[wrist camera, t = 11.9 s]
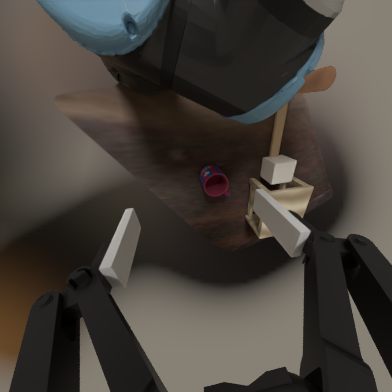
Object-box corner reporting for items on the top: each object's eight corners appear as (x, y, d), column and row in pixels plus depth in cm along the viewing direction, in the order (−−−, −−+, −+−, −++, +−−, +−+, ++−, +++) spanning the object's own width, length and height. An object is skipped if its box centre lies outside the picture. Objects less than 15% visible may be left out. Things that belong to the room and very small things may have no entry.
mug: (212, 159, 41) (219, 168, 36) (231, 183, 46) (240, 193, 40) (194, 175, 43) (198, 185, 37) (214, 196, 48) (220, 208, 42)
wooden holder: (249, 178, 46) (267, 194, 37) (287, 172, 47) (313, 187, 38) (245, 217, 54) (259, 238, 46) (277, 212, 55) (297, 231, 47)
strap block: (273, 78, 34) (313, 67, 24) (298, 76, 34) (346, 64, 25) (260, 176, 46) (282, 193, 37) (278, 173, 47) (305, 189, 37)
